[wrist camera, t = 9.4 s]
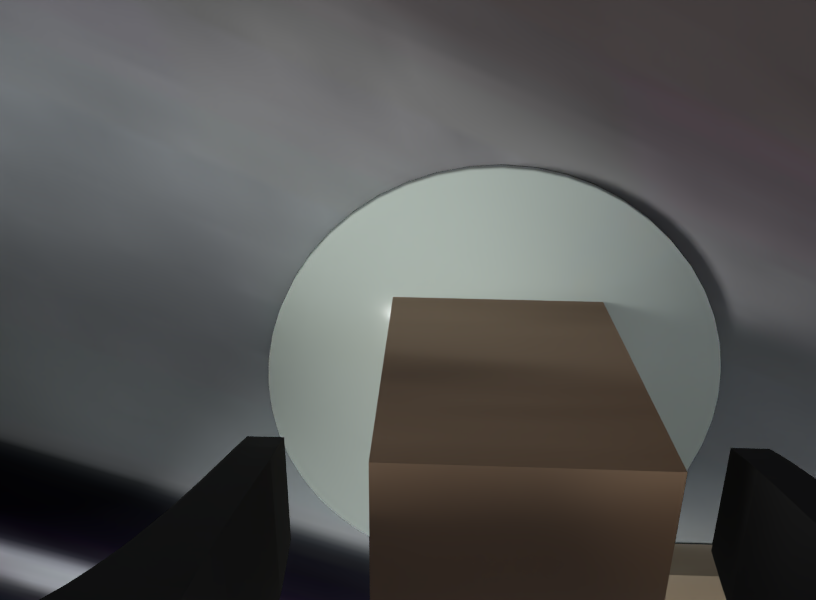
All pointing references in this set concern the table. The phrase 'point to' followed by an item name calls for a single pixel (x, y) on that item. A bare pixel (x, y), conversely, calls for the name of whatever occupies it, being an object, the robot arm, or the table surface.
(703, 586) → the pocket block
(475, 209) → the disc
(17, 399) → the table surface
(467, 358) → the walnut block
